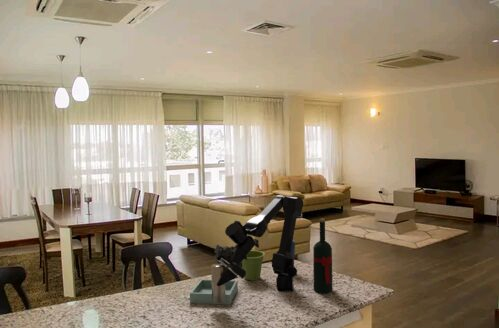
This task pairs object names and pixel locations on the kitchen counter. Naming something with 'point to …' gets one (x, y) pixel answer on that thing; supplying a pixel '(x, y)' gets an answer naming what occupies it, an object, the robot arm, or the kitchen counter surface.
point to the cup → (293, 250)
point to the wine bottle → (322, 263)
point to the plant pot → (253, 265)
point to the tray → (204, 292)
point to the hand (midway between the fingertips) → (214, 283)
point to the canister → (216, 274)
